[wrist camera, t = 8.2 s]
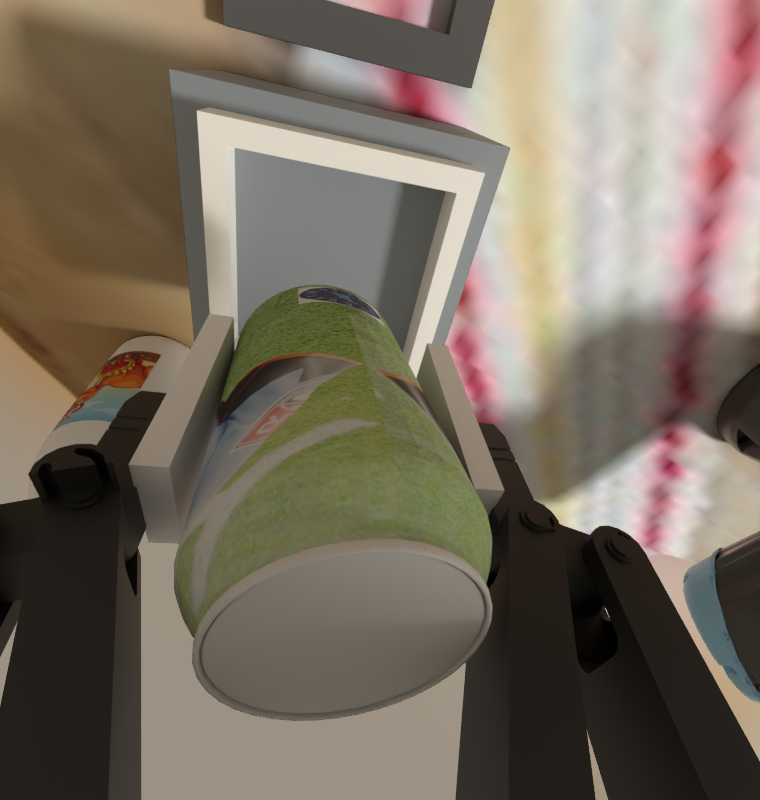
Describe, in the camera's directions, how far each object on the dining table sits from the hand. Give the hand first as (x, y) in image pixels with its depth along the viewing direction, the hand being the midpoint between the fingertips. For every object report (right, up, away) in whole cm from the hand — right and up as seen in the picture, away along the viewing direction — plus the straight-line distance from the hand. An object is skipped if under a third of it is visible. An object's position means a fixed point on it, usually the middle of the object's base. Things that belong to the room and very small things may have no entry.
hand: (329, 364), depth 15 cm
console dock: (-2, +11, +14) cm, 19 cm away
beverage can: (0, +1, +2) cm, 2 cm away
